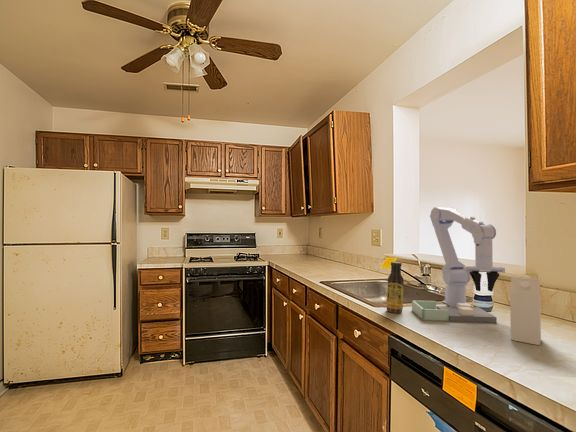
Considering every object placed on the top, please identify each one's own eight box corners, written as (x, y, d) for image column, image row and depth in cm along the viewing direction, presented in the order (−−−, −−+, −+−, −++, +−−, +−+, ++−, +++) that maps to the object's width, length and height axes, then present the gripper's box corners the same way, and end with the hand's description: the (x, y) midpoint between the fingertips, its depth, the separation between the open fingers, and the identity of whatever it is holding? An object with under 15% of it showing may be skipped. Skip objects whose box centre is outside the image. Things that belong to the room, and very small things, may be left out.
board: (436, 311, 133) (436, 306, 133) (478, 312, 131) (478, 307, 131) (449, 321, 119) (449, 315, 119) (496, 322, 117) (496, 317, 117)
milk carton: (513, 334, 106) (512, 275, 106) (540, 339, 101) (540, 277, 101) (510, 340, 100) (510, 277, 100) (540, 346, 96) (539, 280, 96)
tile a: (456, 307, 130) (456, 302, 130) (467, 308, 130) (467, 303, 130) (460, 310, 126) (460, 305, 126) (471, 310, 126) (471, 305, 126)
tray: (412, 310, 134) (412, 300, 134) (435, 311, 133) (435, 301, 133) (422, 320, 120) (422, 309, 120) (448, 321, 119) (448, 310, 119)
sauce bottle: (385, 312, 131) (385, 262, 131) (388, 308, 136) (388, 260, 136) (402, 314, 128) (402, 263, 128) (404, 310, 133) (404, 261, 133)
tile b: (458, 312, 124) (457, 306, 124) (469, 312, 124) (469, 307, 124) (462, 315, 120) (462, 309, 120) (474, 315, 120) (473, 309, 120)
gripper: (468, 256, 125) (469, 292, 124) (509, 257, 123) (509, 293, 123) (461, 254, 132) (461, 288, 131) (499, 255, 130) (499, 289, 130)
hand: (484, 290), depth 128 cm, fingers open, 4 cm apart
